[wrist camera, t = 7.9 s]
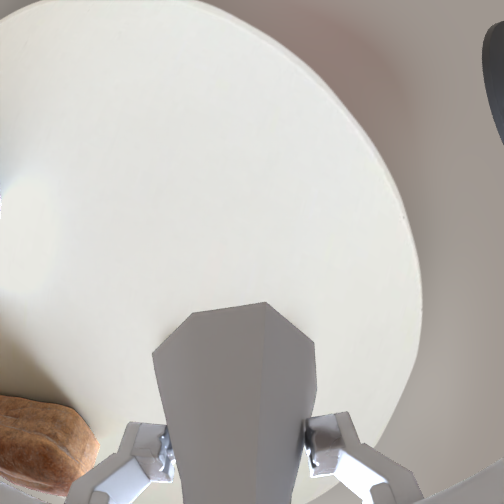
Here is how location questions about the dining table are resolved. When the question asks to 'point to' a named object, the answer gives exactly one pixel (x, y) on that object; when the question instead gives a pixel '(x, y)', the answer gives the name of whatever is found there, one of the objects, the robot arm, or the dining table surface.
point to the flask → (237, 403)
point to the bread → (44, 445)
